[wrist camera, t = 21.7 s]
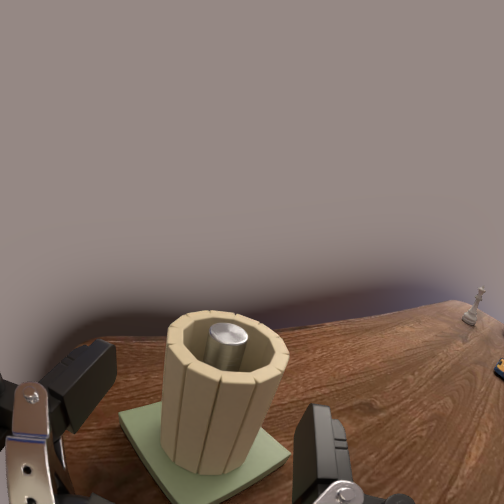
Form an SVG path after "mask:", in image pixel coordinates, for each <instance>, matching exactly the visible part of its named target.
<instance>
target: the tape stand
mask: <svg viewBox="0 0 504 504" xmlns="http://www.w3.org/2000/svg"><path fill="white" fill-rule="evenodd" d="M247 341H248V335H247V333H246V331H245V330H244V329H242V328H241V327H239V326H237V325H234V324H230V323H216V324H214V325H212V326H211V327H210V328H209V332H208V337H207V342H206V347H205V352H204V357H203V363H205V364H207V365H210V366H212V367H214V368H217V369H219V370H221V371H230V372H239V369H240V366H241V362H242V359H243V355H244V352H245V348H246V345H247ZM161 407H162V401H161V402H158V403H154V404H150V405H147V406H143V407H139V408H135V409H131V410H127V411H123V412H119V422H120V425H121V427H122V429H123V431H124V432H125V434H126V436H127V438H128V439H129V441H130V443H131V444H132V446H133V448H134V449H135V451H136V453H137V454H138V456H139V458H140V459H141V461H142V462H143V464H144V465H145V467H146V468H147V470H148V471H149V473H150V474H151V476H152V477H153V479H154V480H155V481H156V483H157V484H158V486H159V487H160V488H161V490H162V491H163V492H164V494H165V495H166V496H167V498H168V499H169V500H170V502H171V503H172V504H219V503H221V502H223V501H225V500H227V499H228V498H230V497H232V496H234V495H236V494H237V493H239V492H241V491H243V490H244V489H246V488H248V487H249V486H251V485H253V484H254V483H256V482H257V481H259V480H261V479H262V478H264V477H265V476H267V475H268V474H270V473H271V472H273V471H274V470H276V469H277V468H279V467H280V466H282V465H283V464H284V463H286V461H287V460H288V458H289V457H290V455H291V453H290V452H289V451H288V450H287V449H285V448H284V447H283V446H282V445H281V444H279V443H278V442H277V441H276V440H275V439H274V438H272V437H271V436H270V435H269V434H268V433H267V432H266V431H265V430H263V429H262V428H261V427H260V430H259V432H258V434H257V436H256V438H255V441H254V443H253V445H252V447H251V449H250V451H249V453H248V455H247V457H246V460H245V462H244V463H242V465H241V466H240V467H238V468H236V469H234V470H232V471H230V472H228V473H226V474H223V473H222V475H199V474H198V472H197V473H196V474H194V473H192V472H190V471H188V470H186V469H184V468H182V467H180V466H178V465H176V464H175V462H172V461H171V459H170V458H169V457H168V455H167V454H166V452H165V451H164V450H163V448H162V447H161V443H160V428H161Z"/></svg>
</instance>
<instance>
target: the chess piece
mask: <svg viewBox="0 0 504 504" xmlns="http://www.w3.org/2000/svg"><path fill="white" fill-rule="evenodd" d="M478 289H479V293H478V294H477V296H475V298H476V300H475V302H474V304H473V306H472V307H471V309H469V310H468V312H465V313H464V316H463V317H462V320H463V321H464V322H466V323H467V324H470V325H475V323H476V321H477V317H476V315H477V313H476V312H477V307H478V304H479V301H482V295H483V293H485V292H486V291H485V290H484V286H482V288H478Z"/></svg>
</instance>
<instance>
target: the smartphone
mask: <svg viewBox="0 0 504 504" xmlns="http://www.w3.org/2000/svg"><path fill="white" fill-rule="evenodd" d="M494 370H495V372H496V373H498V374H499V375H500V376H502V377H503V378H504V359H503V358H501V359H500V360H499V362H498V363H497V365H496V367H495V368H494Z"/></svg>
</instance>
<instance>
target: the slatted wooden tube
mask: <svg viewBox="0 0 504 504" xmlns="http://www.w3.org/2000/svg"><path fill="white" fill-rule="evenodd" d="M216 323H230V324H234V325H237V326H239V327H241V328H242V329H244V330H245V331H246V333H247V335H248V341H247V345H246V348H245V352H244V355H243V359H242V362H241V366H240V369H239V372H230V371H221V370H219V369H217V368H214V367H212V366H210V365H207V364H205V363H203V357H204V352H205V347H206V342H207V337H208V332H209V328H210V327H211V326H212V325H214V324H216ZM288 360H289V352H288V350H287V348H286V346H285V344H284V342H283V340H282V338H279V335H277V334H276V333H275V332H273V331H272V330H271V329H269V328H268V327H266V326H265V325H264V324H260V323H259V322H258V321H255V320H252V319H250V318H247V317H244V316H242V315H239V314H237V315H236V316H235V314H234V313H229V312H221V311H213V310H211V311H210V312H209V311H207V310H205V311H200V312H193V313H187V314H186V315H183V316H181V317H180V318H179V319H177V320H176V321H175V322H174V323H172V324H171V325H170V327H169V328H168V334H167V343H166V353H165V364H164V376H163V390H162V407H161V428H160V443H161V447H162V448H163V450H164V451H165V452H166V454H167V455H168V457H169V458H170V459H171V461H172V462H175V464H176V465H178V466H180V467H182V468H184V469H186V470H188V471H190V472H192V473H194V474H196V473H197V472H198V474H199V475H222V473H223V474H226V473H228V472H230V471H232V470H234V469H236V468H238V467H240V466H241V465H242V463H244V462H245V460H246V457H247V455H248V453H249V451H250V449H251V447H252V445H253V443H254V441H255V438H256V436H257V434H258V432H259V430H260V427H261V425H262V423H263V421H264V418H265V416H266V414H267V411H268V409H269V407H270V404H271V402H272V400H273V397H274V395H275V393H276V390H277V388H278V385H279V383H280V380H281V378H282V375H283V373H284V370H285V368H286V365H287V363H288Z"/></svg>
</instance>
